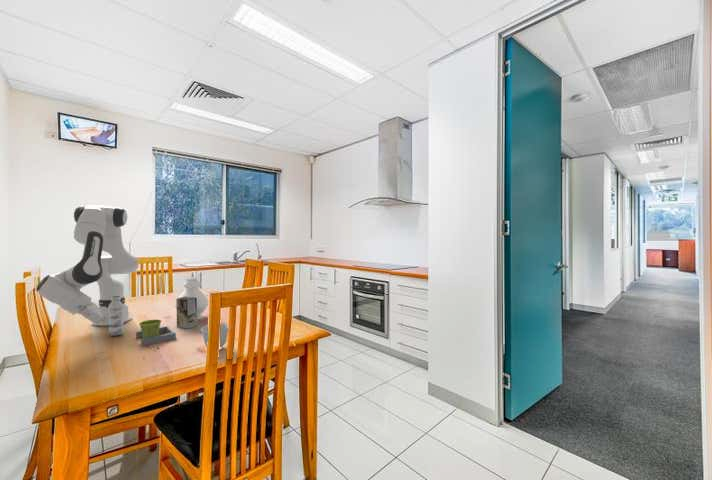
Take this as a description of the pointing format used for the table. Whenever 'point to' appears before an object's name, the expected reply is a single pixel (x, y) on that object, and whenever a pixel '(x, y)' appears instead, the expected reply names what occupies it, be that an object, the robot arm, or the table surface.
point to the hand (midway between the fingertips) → (107, 321)
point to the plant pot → (150, 328)
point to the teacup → (222, 334)
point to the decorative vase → (195, 294)
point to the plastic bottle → (116, 316)
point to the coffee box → (186, 312)
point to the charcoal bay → (156, 339)
